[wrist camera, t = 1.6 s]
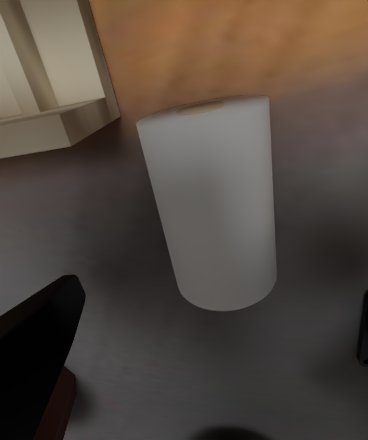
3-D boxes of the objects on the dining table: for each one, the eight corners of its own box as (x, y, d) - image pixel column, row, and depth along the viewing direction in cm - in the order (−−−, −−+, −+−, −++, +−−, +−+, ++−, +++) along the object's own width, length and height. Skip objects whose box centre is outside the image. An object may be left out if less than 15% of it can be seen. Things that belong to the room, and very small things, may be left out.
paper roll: (269, 242, 17) (285, 310, 12) (183, 250, 17) (170, 315, 13) (260, 87, 13) (279, 105, 8) (150, 107, 14) (117, 133, 9)
